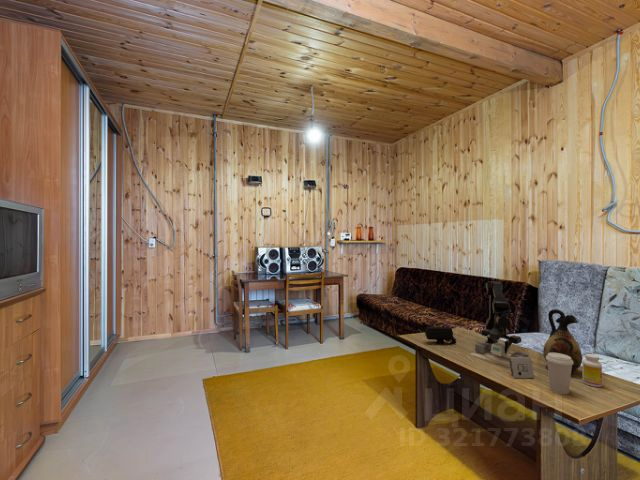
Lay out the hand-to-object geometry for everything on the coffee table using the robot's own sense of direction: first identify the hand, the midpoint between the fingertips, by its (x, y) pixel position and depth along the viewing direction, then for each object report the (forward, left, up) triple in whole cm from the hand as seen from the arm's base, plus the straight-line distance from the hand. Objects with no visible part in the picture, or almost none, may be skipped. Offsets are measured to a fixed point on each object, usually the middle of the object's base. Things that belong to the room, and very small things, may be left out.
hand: (500, 351), depth 169 cm
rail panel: (0, 0, -4) cm, 4 cm away
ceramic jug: (-10, +24, -4) cm, 26 cm away
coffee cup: (+17, +32, -4) cm, 37 cm away
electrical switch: (+15, +16, -4) cm, 22 cm away
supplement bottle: (-3, +38, -4) cm, 38 cm away
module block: (0, 0, -1) cm, 1 cm away
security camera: (+4, -34, -4) cm, 34 cm away
